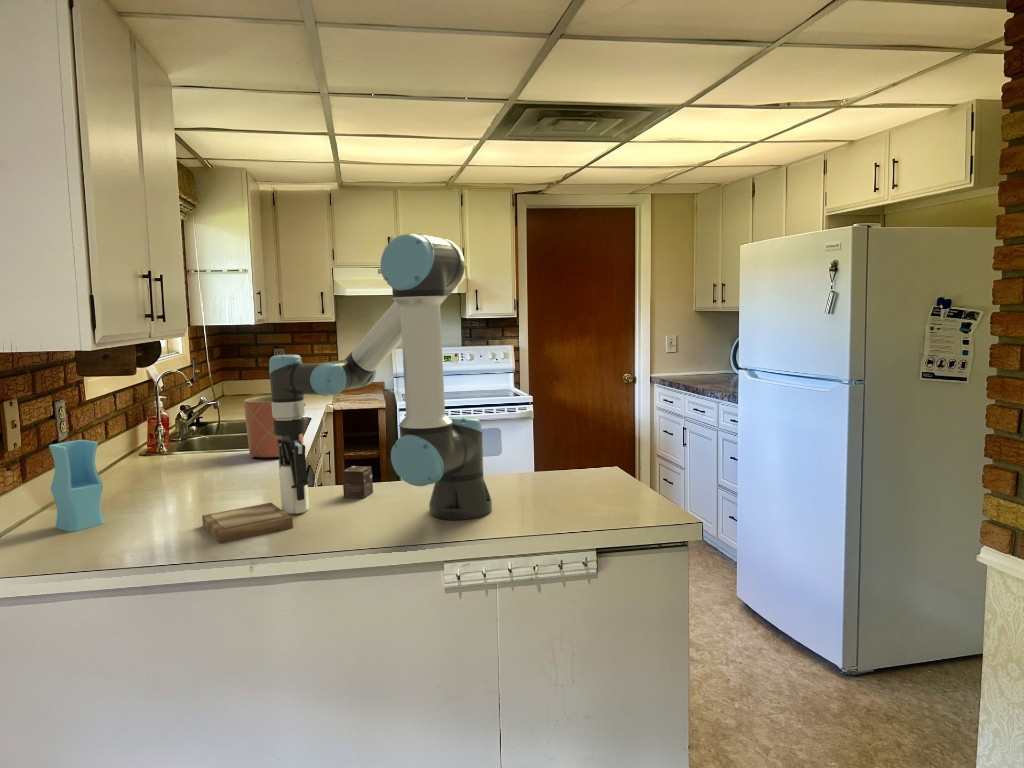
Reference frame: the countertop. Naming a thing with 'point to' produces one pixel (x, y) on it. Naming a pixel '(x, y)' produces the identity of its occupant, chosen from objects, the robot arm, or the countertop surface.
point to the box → (357, 482)
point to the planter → (261, 427)
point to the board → (246, 522)
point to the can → (289, 489)
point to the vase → (76, 485)
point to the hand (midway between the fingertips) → (295, 509)
